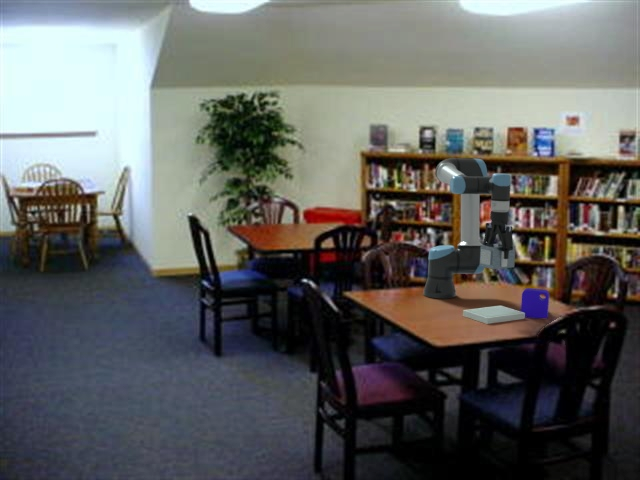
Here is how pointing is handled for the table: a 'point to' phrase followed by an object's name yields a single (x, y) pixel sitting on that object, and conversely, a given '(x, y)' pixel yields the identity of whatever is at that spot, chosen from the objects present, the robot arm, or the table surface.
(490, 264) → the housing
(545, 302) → the bracket
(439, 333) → the table surface
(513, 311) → the tray
